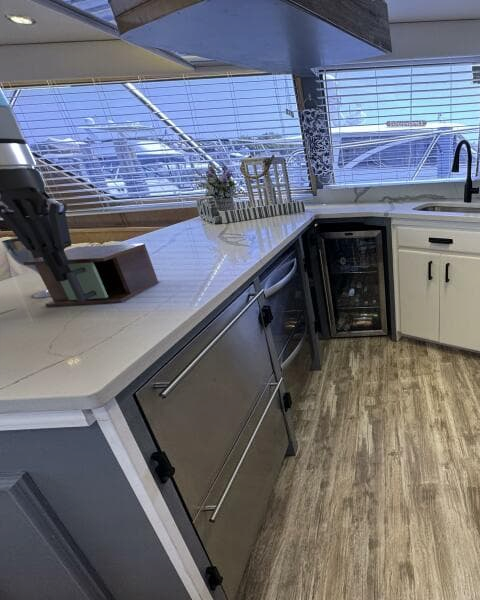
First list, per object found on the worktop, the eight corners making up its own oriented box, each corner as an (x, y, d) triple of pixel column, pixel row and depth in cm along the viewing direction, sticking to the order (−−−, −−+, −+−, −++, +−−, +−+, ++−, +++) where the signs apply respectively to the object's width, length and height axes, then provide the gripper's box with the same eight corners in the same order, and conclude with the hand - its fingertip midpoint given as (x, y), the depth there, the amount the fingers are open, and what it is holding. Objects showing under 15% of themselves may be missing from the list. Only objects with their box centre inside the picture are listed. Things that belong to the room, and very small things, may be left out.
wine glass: (25, 296, 86) (-5, 241, 80) (62, 286, 93) (37, 234, 87) (40, 299, 83) (10, 242, 77) (78, 289, 90) (53, 235, 84)
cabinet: (46, 306, 79) (22, 262, 74) (94, 285, 92) (76, 246, 88) (121, 302, 80) (103, 257, 75) (158, 282, 93) (144, 243, 88)
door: (52, 307, 75) (33, 270, 71) (72, 299, 80) (54, 263, 76) (91, 305, 75) (74, 268, 72) (108, 296, 80) (93, 261, 77)
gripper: (62, 166, 68) (107, 272, 77) (-3, 169, 67) (51, 275, 77) (26, 167, 61) (80, 283, 70) (-46, 170, 60) (18, 286, 70)
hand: (65, 279), depth 73 cm, fingers closed
